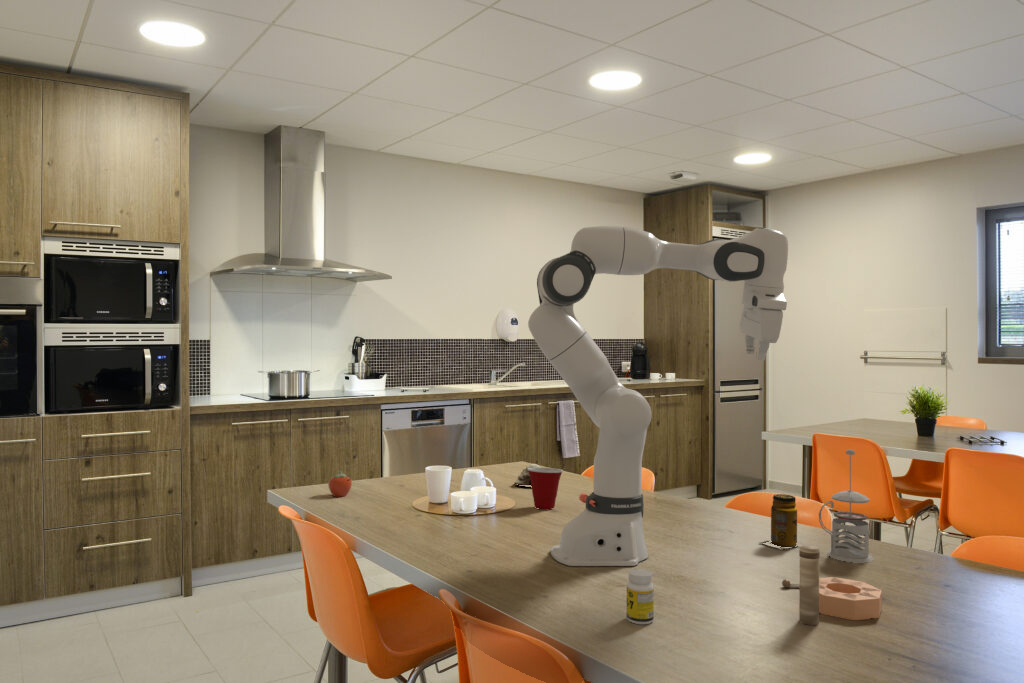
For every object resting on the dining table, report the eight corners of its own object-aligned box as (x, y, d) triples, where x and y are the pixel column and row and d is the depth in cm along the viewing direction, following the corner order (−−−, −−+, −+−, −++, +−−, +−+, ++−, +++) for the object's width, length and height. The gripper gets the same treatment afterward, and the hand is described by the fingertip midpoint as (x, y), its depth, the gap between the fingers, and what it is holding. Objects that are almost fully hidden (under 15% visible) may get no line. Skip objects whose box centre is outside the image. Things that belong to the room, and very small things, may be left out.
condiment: (804, 546, 177) (805, 497, 178) (783, 551, 173) (783, 500, 173) (779, 539, 184) (779, 491, 184) (757, 544, 179) (757, 495, 179)
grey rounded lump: (511, 486, 246) (513, 460, 253) (514, 501, 254) (516, 476, 261) (546, 486, 245) (547, 460, 252) (548, 501, 252) (549, 476, 259)
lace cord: (783, 588, 145) (783, 580, 145) (780, 586, 147) (780, 578, 147) (872, 590, 145) (872, 582, 145) (868, 587, 146) (868, 579, 146)
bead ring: (836, 621, 128) (836, 601, 128) (793, 598, 140) (793, 579, 140) (896, 616, 130) (896, 596, 130) (849, 593, 143) (849, 575, 143)
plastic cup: (569, 506, 219) (569, 467, 219) (551, 513, 210) (552, 472, 210) (538, 502, 225) (538, 463, 225) (520, 508, 216) (520, 468, 216)
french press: (871, 565, 161) (871, 453, 161) (815, 557, 167) (815, 449, 168) (875, 555, 170) (876, 448, 170) (822, 547, 176) (822, 444, 176)
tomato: (348, 498, 229) (349, 473, 229) (325, 498, 229) (325, 472, 229) (354, 493, 236) (354, 469, 237) (331, 493, 237) (331, 468, 237)
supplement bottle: (623, 615, 130) (623, 568, 130) (649, 614, 130) (649, 568, 131) (630, 625, 125) (630, 576, 125) (656, 624, 126) (657, 576, 126)
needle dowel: (806, 625, 126) (807, 550, 126) (795, 618, 129) (795, 545, 129) (823, 624, 126) (823, 549, 127) (811, 617, 130) (811, 544, 130)
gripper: (737, 294, 180) (730, 348, 182) (760, 301, 160) (752, 362, 162) (763, 296, 180) (756, 351, 182) (789, 303, 160) (781, 364, 162)
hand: (754, 356), depth 172 cm, fingers open, 8 cm apart
